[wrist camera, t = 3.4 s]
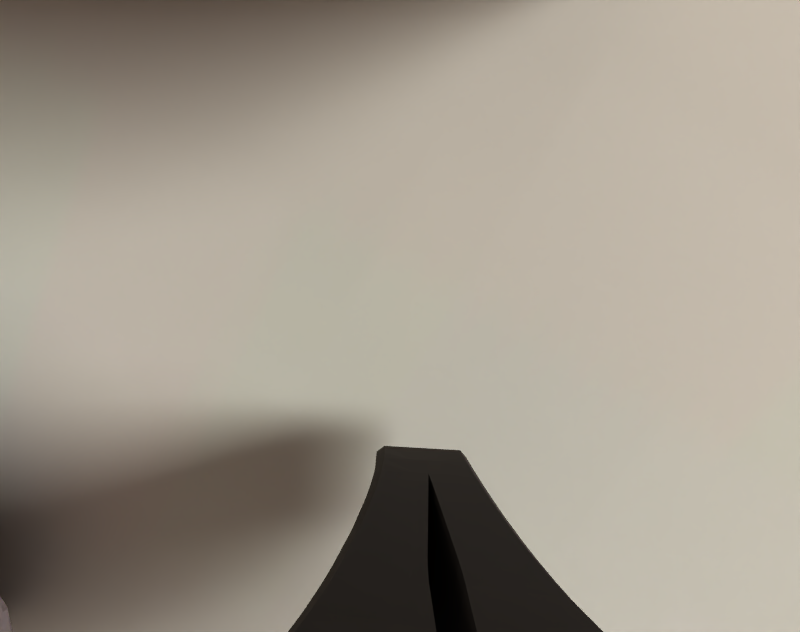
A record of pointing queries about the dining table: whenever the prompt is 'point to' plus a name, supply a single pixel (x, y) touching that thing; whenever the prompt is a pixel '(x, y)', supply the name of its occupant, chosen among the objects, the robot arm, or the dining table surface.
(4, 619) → the stone block
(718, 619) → the dining table surface
